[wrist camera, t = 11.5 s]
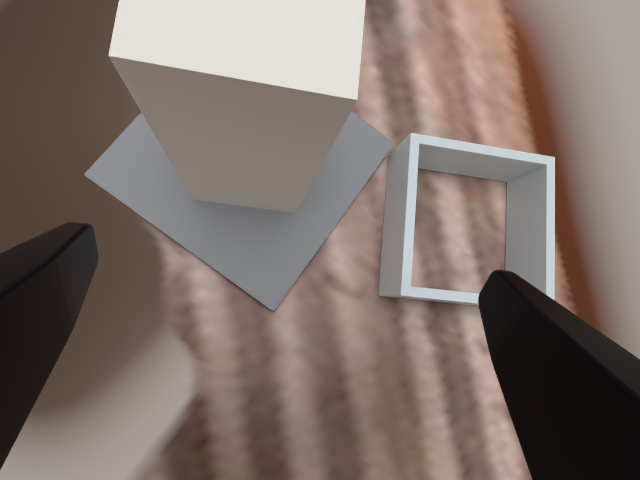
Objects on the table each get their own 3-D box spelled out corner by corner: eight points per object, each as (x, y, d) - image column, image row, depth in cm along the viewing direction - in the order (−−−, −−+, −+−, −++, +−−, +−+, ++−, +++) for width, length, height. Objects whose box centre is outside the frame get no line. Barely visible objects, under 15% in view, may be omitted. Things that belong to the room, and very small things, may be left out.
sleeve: (511, 309, 24) (554, 311, 21) (378, 295, 23) (400, 295, 20) (514, 175, 26) (554, 157, 22) (388, 155, 24) (410, 132, 21)
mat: (272, 311, 22) (273, 311, 21) (89, 179, 21) (83, 174, 20) (389, 148, 24) (394, 143, 24) (229, 26, 24) (229, 17, 23)
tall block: (295, 213, 22) (357, 100, 9) (192, 199, 21) (108, 55, 9) (305, 119, 23) (374, -99, 10) (207, 103, 22) (149, -158, 9)
